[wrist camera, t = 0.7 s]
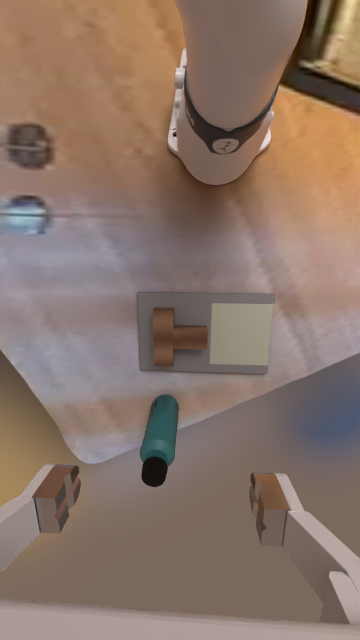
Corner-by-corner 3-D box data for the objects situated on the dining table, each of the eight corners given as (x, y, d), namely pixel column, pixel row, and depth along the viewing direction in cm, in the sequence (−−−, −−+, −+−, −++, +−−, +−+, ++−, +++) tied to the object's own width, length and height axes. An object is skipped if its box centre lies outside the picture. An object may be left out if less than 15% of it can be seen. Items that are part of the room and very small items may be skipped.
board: (138, 292, 47) (137, 292, 46) (273, 293, 46) (275, 294, 45) (141, 367, 51) (140, 370, 50) (265, 371, 50) (266, 373, 49)
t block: (156, 306, 47) (152, 309, 43) (207, 307, 46) (208, 310, 42) (157, 358, 49) (154, 366, 45) (205, 359, 49) (206, 367, 45)
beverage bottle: (157, 386, 52) (138, 455, 33) (183, 395, 52) (179, 469, 33) (149, 409, 54) (126, 487, 34) (175, 417, 54) (166, 500, 34)
